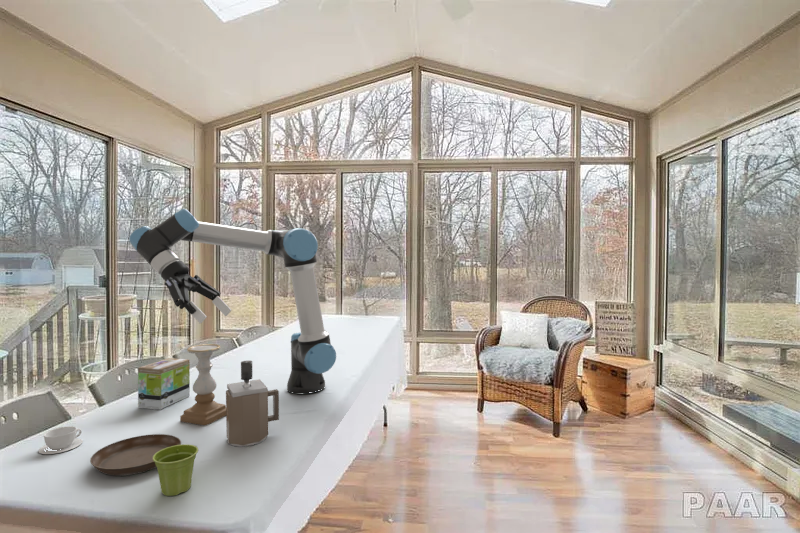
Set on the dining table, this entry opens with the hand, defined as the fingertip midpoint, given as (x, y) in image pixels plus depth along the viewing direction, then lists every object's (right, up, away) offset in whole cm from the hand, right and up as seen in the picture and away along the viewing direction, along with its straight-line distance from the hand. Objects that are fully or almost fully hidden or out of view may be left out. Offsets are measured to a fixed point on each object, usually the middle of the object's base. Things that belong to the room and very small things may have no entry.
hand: (216, 316), depth 132 cm
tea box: (-31, -35, +27) cm, 54 cm away
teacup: (-41, -37, -9) cm, 55 cm away
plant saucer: (-14, -37, -17) cm, 43 cm away
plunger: (+11, -35, -4) cm, 37 cm away
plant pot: (+4, -37, -31) cm, 49 cm away
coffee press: (+12, -36, -3) cm, 38 cm away
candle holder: (-9, -36, +12) cm, 39 cm away
